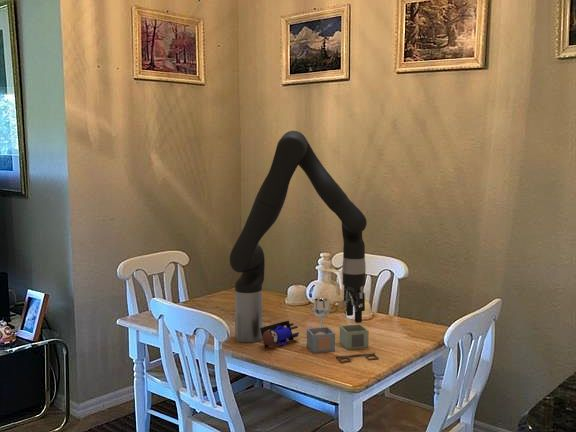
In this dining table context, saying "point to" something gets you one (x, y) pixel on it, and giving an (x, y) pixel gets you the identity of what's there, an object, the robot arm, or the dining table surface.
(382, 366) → the dining table surface
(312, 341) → the grey storage bin
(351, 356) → the dark brown flat frame
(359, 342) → the green storage bin
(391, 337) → the dining table surface
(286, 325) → the character figurine
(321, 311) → the wineglass
